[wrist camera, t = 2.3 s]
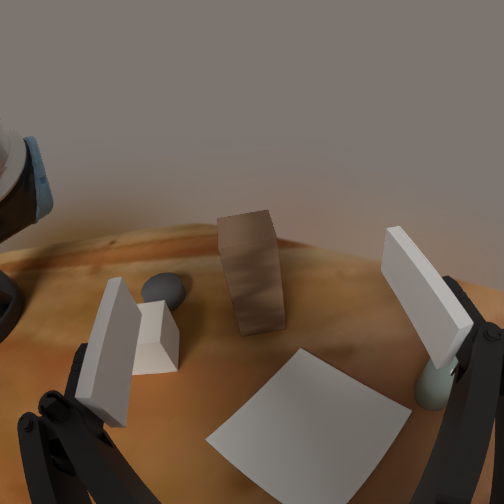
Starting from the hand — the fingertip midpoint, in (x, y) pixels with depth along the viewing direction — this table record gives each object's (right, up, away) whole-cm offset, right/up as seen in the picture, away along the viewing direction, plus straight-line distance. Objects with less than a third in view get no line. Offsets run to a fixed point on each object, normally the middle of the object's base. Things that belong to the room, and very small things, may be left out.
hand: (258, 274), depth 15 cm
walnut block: (+1, -6, +17) cm, 18 cm away
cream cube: (-10, -9, +15) cm, 20 cm away
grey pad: (+4, -13, +6) cm, 15 cm away
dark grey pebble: (-11, -5, +21) cm, 24 cm away
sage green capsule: (+16, -11, +7) cm, 20 cm away
